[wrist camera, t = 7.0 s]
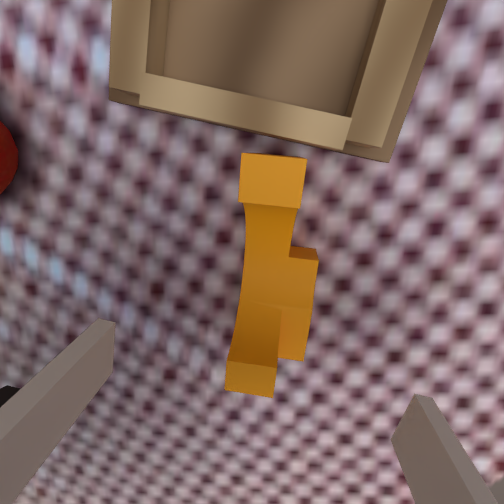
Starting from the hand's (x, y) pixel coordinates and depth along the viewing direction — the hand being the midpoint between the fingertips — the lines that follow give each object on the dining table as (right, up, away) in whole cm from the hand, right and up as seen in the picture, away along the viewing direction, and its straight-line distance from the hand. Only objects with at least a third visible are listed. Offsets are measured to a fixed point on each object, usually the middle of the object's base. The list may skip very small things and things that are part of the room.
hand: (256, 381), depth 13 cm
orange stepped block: (+2, +6, +7) cm, 9 cm away
